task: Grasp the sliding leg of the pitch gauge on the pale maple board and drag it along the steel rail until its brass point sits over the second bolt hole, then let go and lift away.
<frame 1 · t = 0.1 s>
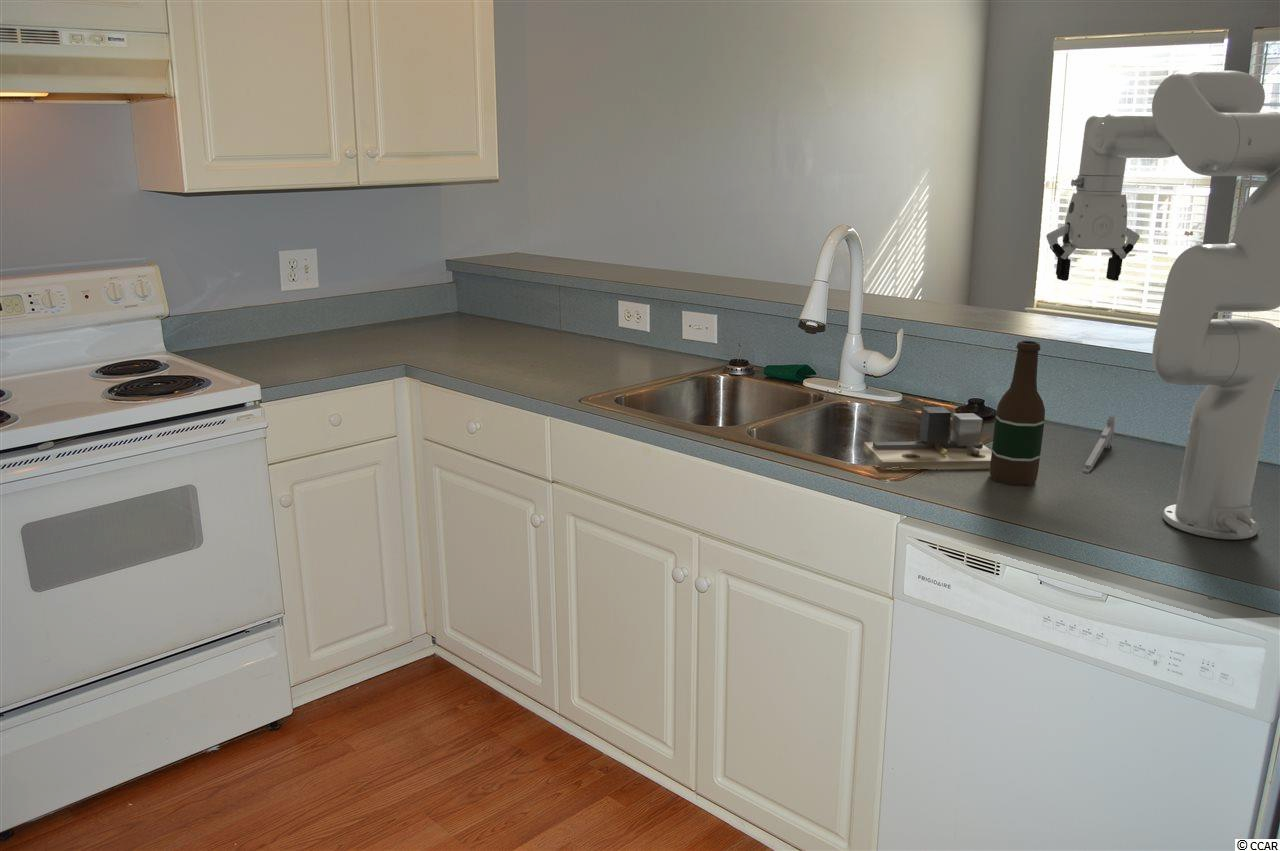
hand: (1087, 279, 187), 31 cm above the worktop, fingers open, 9 cm apart
caliper: (1097, 460, 184), on the worktop
beer bottle: (1012, 480, 172), on the worktop
sliding leg: (938, 430, 182), point 5 cm above the worktop, slide at 0.0 cm
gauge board: (931, 458, 183), on the worktop
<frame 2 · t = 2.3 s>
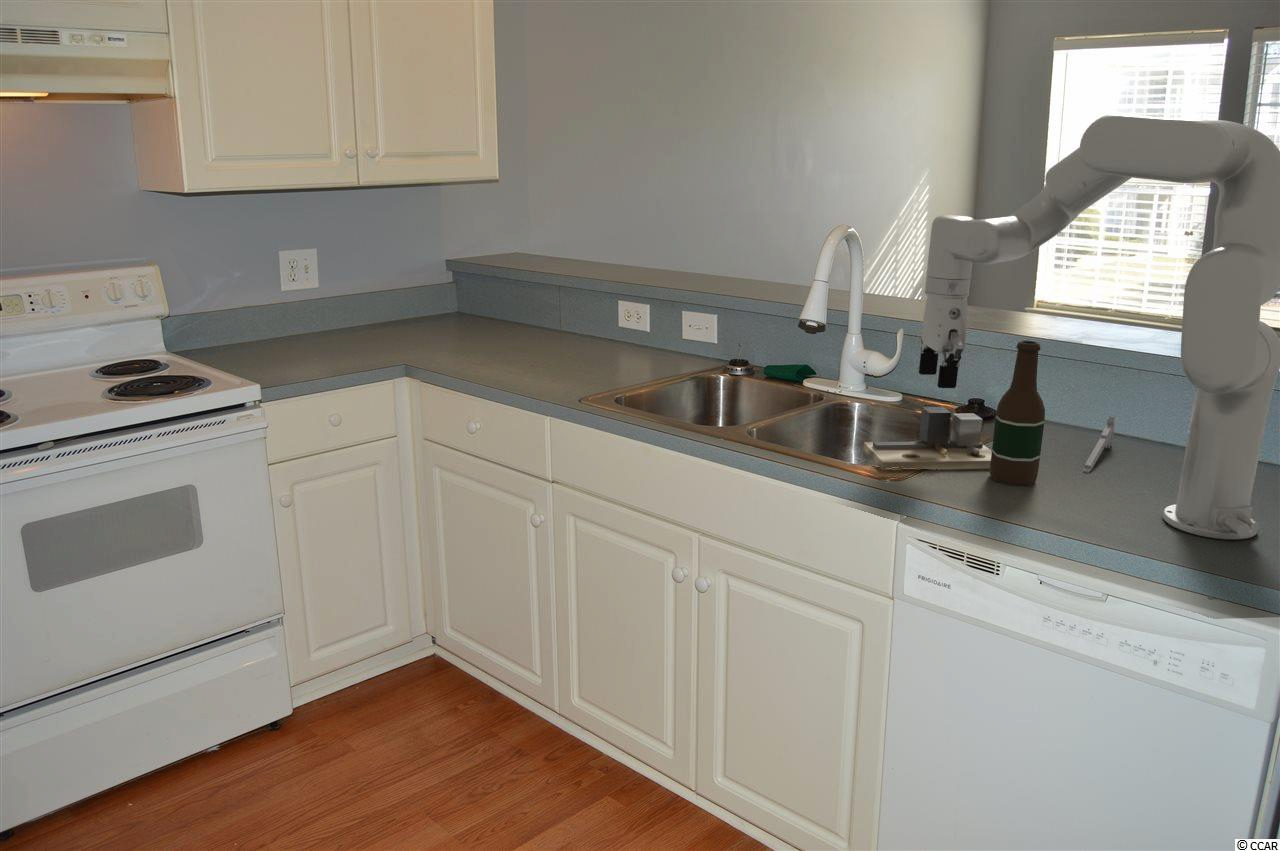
hand: (936, 380, 182), 14 cm above the worktop, fingers open, 9 cm apart
nothing on the worktop moved.
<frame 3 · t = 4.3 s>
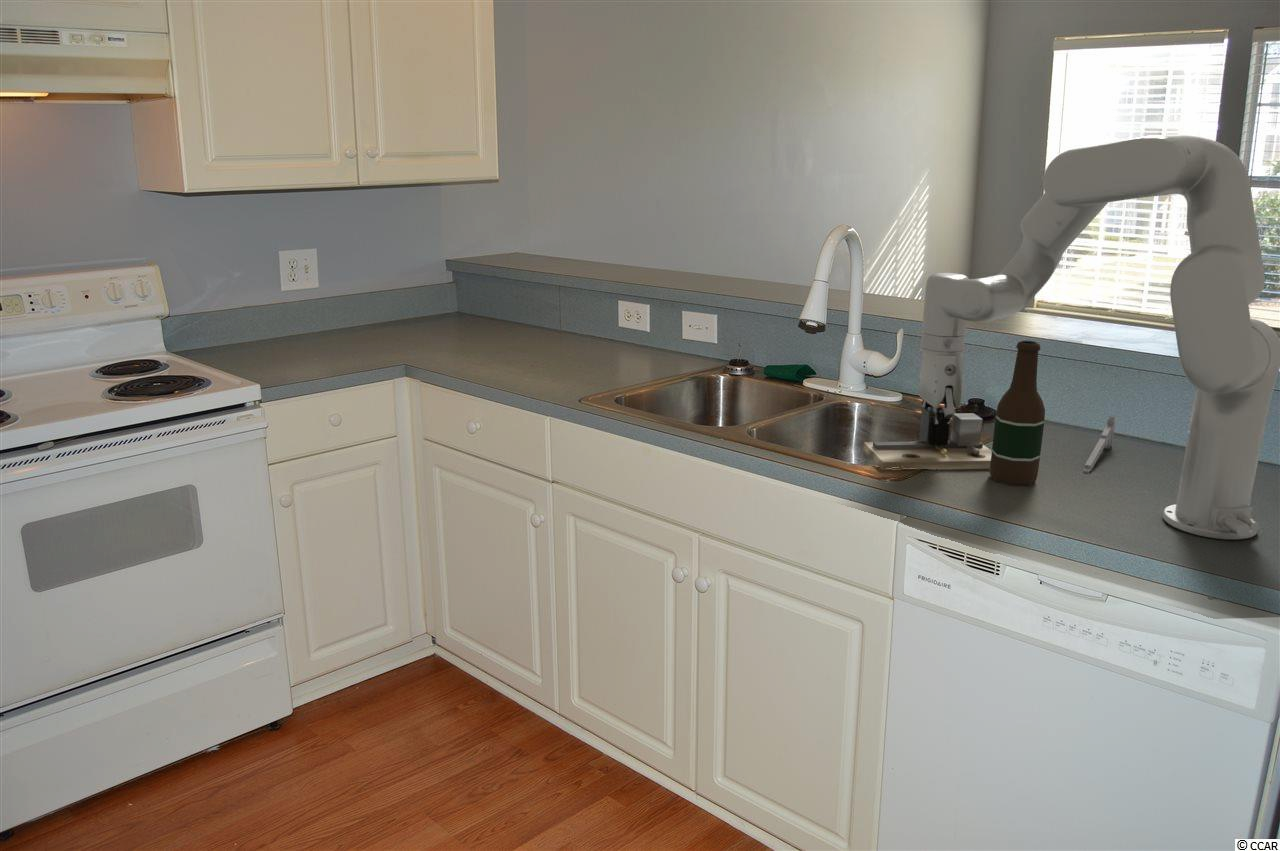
hand: (933, 439, 184), 3 cm above the worktop, fingers closed on sliding leg, 4 cm apart
sliding leg: (938, 430, 182), point 5 cm above the worktop, slide at 0.0 cm, touching gripper
everything else where it was.
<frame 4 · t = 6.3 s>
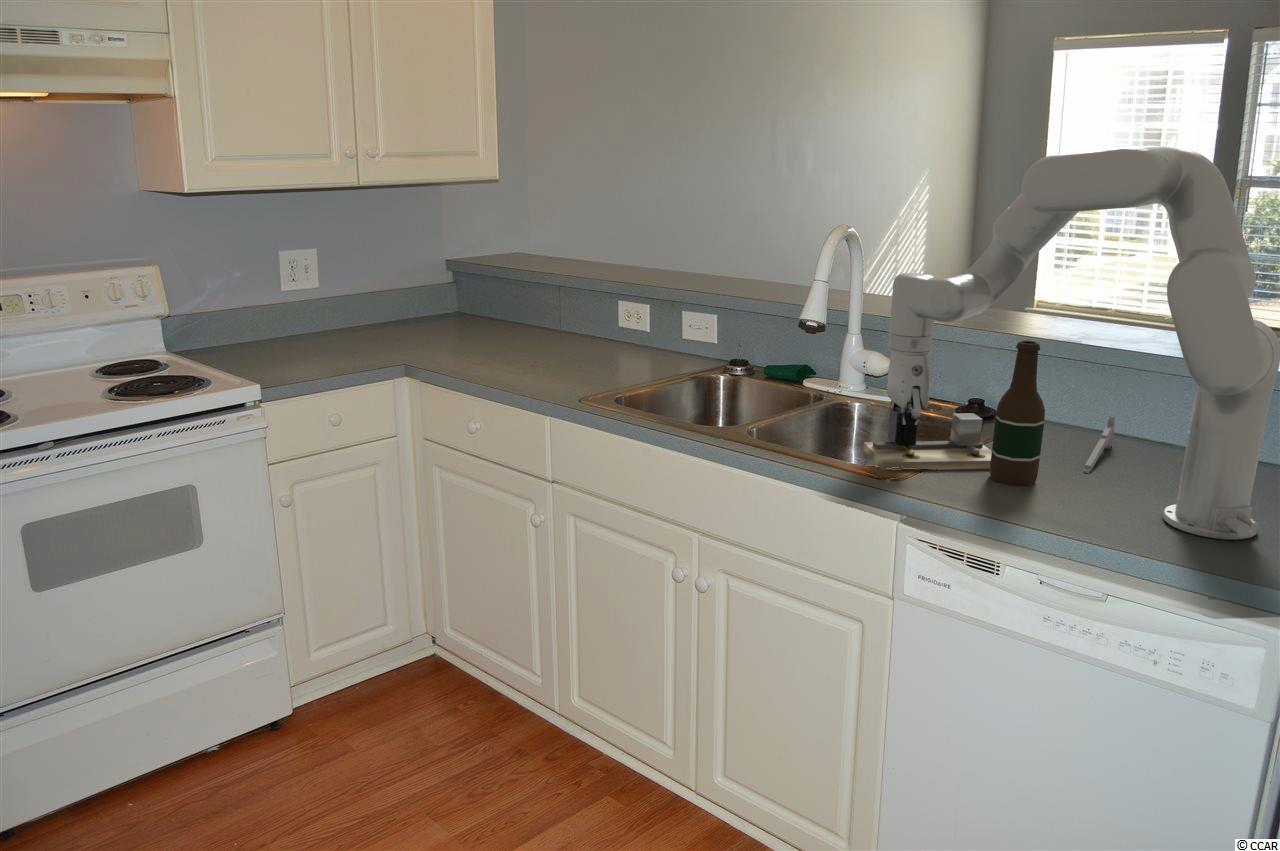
hand: (901, 440, 184), 3 cm above the worktop, fingers closed on sliding leg, 4 cm apart
sliding leg: (906, 431, 181), point 5 cm above the worktop, slide at 6.0 cm, touching gripper
everything else where it was.
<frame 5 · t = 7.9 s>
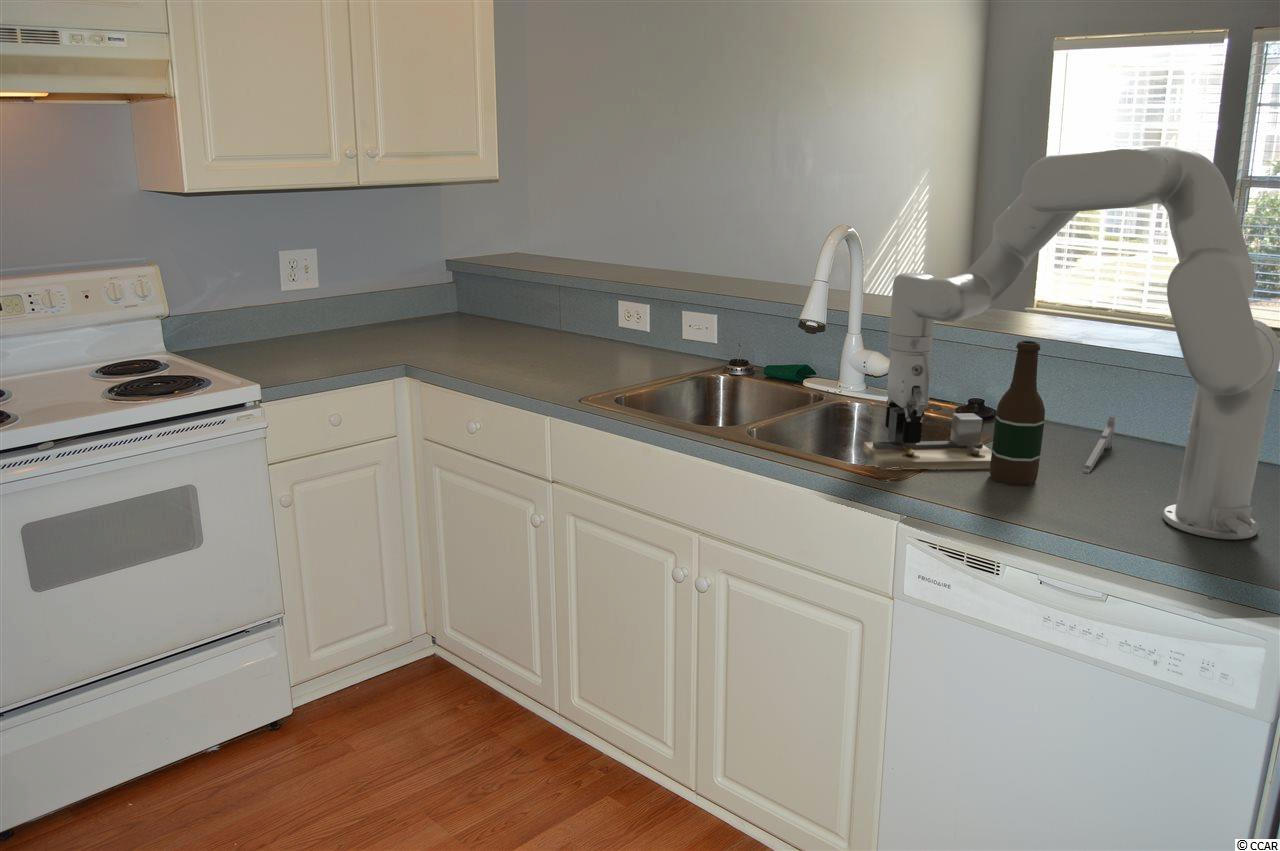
hand: (902, 434, 184), 4 cm above the worktop, fingers open, 9 cm apart
sliding leg: (906, 431, 181), point 5 cm above the worktop, slide at 6.0 cm
everything else where it was.
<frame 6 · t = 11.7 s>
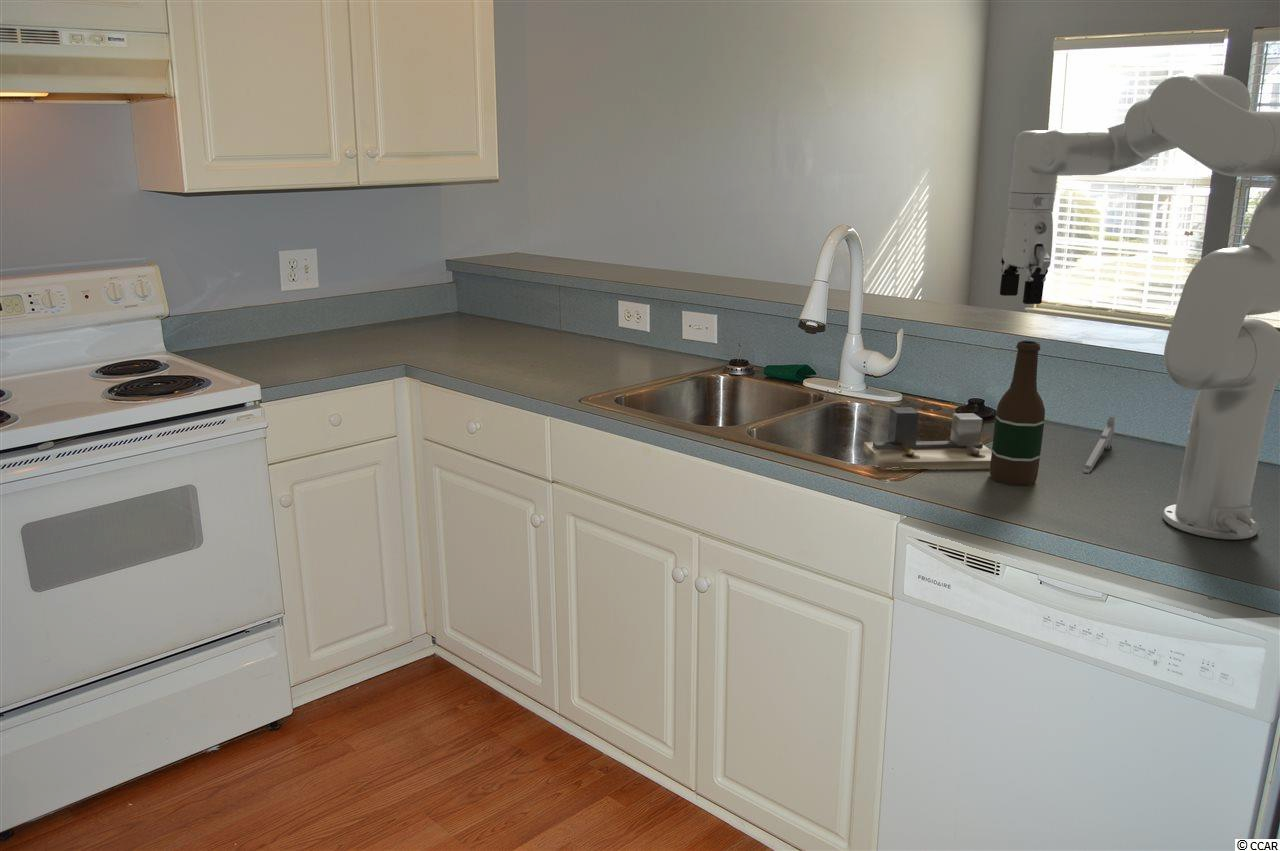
hand: (1019, 299, 182), 28 cm above the worktop, fingers open, 9 cm apart
nothing on the worktop moved.
at the end: sliding leg slide at 6.0 cm; the gripper is holding nothing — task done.
